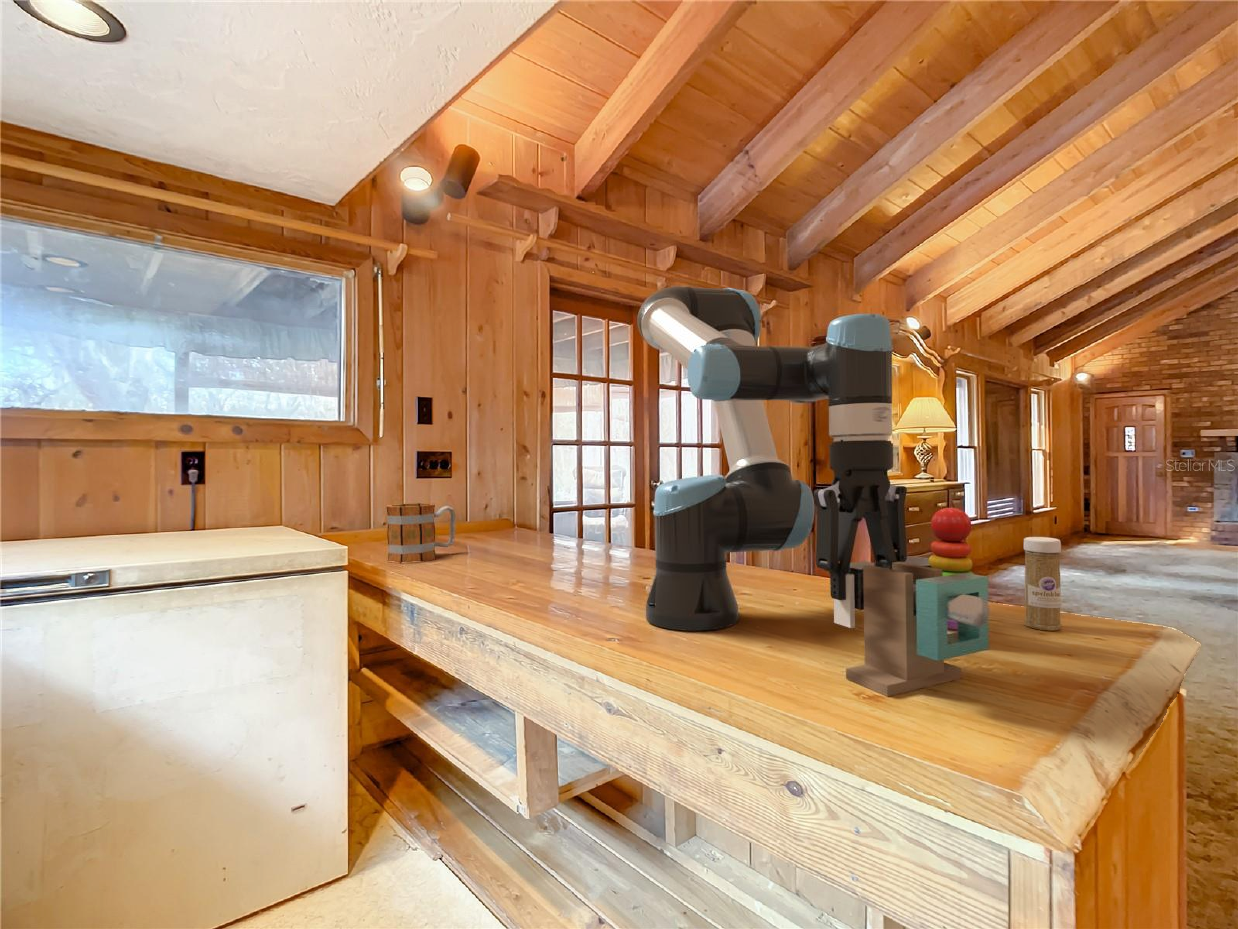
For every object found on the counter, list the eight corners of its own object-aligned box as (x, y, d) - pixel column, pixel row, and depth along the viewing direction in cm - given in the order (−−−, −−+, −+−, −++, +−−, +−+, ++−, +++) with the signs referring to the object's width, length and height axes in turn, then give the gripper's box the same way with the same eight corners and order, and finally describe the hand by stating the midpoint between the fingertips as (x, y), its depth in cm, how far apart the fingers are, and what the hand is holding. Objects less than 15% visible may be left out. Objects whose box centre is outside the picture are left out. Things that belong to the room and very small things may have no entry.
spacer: (917, 654, 64) (916, 579, 64) (967, 643, 68) (966, 572, 68) (937, 661, 62) (936, 584, 62) (988, 649, 65) (987, 576, 65)
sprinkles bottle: (1038, 632, 88) (1037, 540, 88) (1017, 623, 92) (1016, 536, 92) (1069, 631, 88) (1068, 539, 88) (1047, 622, 92) (1046, 535, 92)
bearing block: (846, 678, 71) (844, 568, 71) (917, 662, 76) (916, 559, 76) (887, 696, 66) (885, 577, 66) (961, 678, 71) (960, 567, 70)
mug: (396, 565, 157) (395, 507, 156) (379, 559, 167) (377, 505, 167) (466, 556, 169) (465, 503, 169) (445, 551, 180) (444, 501, 179)
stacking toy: (930, 646, 83) (928, 510, 82) (910, 629, 90) (908, 505, 90) (992, 647, 81) (990, 509, 81) (966, 630, 89) (964, 505, 89)
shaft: (836, 603, 77) (835, 564, 77) (865, 598, 79) (864, 561, 79) (963, 639, 61) (962, 590, 61) (995, 633, 63) (995, 585, 63)
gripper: (825, 438, 69) (828, 640, 69) (938, 437, 76) (940, 619, 77) (782, 441, 76) (785, 624, 76) (889, 440, 83) (892, 606, 84)
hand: (863, 621), depth 76 cm, fingers open, 6 cm apart
